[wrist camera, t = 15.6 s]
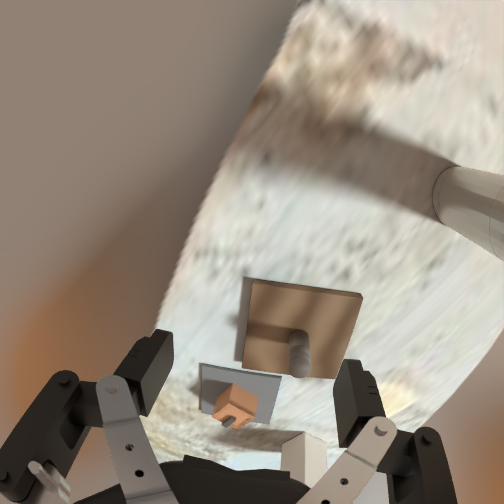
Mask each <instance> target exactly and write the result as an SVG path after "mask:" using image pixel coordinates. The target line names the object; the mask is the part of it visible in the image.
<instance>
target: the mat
mask: <svg viewBox="0 0 504 504" xmlns="http://www.w3.org/2000/svg"><path fill="white" fill-rule="evenodd" d="M281 377H282V376H275V375H267V374H260V373H254V372H247V371H241V370H235V369H229V368H224V367H219V366H213V365H208V364H202V380H201V413H205V414H209V415H212V413H213V410H214V406H215V403H216V400H217V397H218V396H220V395H221V394H222V393H223V392H224V391H225V390H226V389H227V388H229V387H230V386H231V385H232V384H235V385H237V386H238V387H240V388H242V389H244V390H246V391H247V392H249V393H251V394H253V395H255V396H257V397H258V402H257V410H256V417H255V418H254V419H252V420H251V421H249V422H255V423H263V424H269V423H270V419H271V416H272V412H273V409H274V405H275V401H276V397H277V394H278V390H279V386H280V382H281Z"/></svg>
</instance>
